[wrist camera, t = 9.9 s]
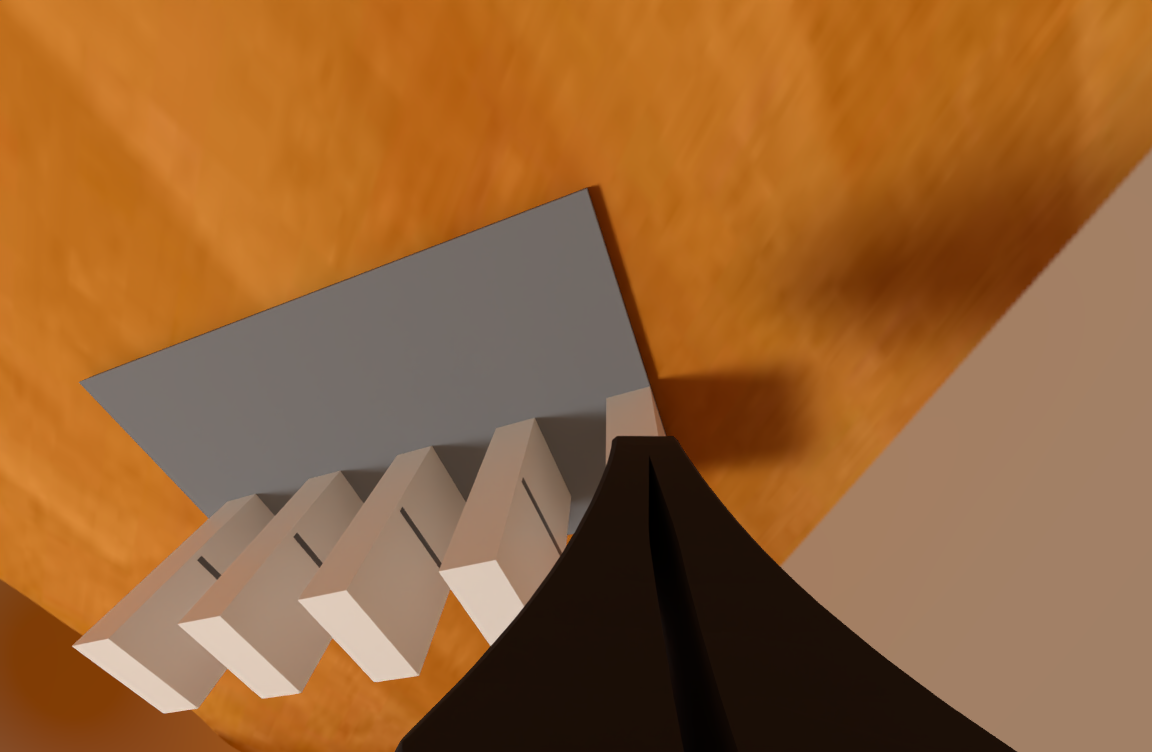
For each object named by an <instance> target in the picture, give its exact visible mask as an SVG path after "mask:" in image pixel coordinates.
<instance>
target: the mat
mask: <svg viewBox="0 0 1152 752" xmlns="http://www.w3.org/2000/svg"><path fill="white" fill-rule="evenodd" d="M79 383H80V384H81V385H82V386H83V387H84V388H85V389H86V390H87V391H88V392H89V393H90V394H91V395H92V396H93V398H94V399H95V400H96V401H97V402H98V403H99V404H100V405H101V406H102V407H103V408H104V409H105V410H106V411H107V412H108V413H109V414H110V415H111V416H112V417H113V418H114V420H115V421H116V422H117V423H118V424H119V425H120V426H121V427H122V428H123V429H124V430H125V431H126V432H127V433H128V434H129V435H130V436H131V437H132V438H133V439H134V441H135V442H136V443H137V444H138V445H139V446H140V447H141V448H142V449H143V450H144V451H145V452H146V453H147V454H148V455H149V456H150V457H151V458H152V459H153V460H154V462H155V463H156V464H157V465H158V466H159V467H160V468H161V469H162V470H163V471H164V472H165V473H166V474H167V475H168V476H169V477H170V478H171V479H172V480H173V481H174V482H175V484H176V485H177V486H178V487H179V488H180V489H181V490H182V491H183V492H184V493H185V494H186V495H187V496H188V497H189V498H190V499H191V500H192V501H193V502H194V503H195V505H196V506H197V507H198V508H199V509H200V510H201V511H202V512H203V513H204V514H205V515H206V516H207V517H208V518H210V517H211V516H212V515H213V514H214V513H216V512H217V511H218V510H219V509H220V508H221V507H222V506H223V505H224V504H225V503H226V502H228V501H231V500H235V499H239V498H242V497H246V496H250V495H253V494H256V495H257V496H258V497H259V498H260V499H261V500H262V502H263V503H264V504H265V505H266V506H267V507H268V509H269V510H270V511H271V512H272V513H273V514H274V516H275V515H276V514H277V513H278V512H279V511H280V510H281V509H282V508H283V507H284V506H285V504H286V503H287V502H288V501H289V500H290V499H291V498H292V497H293V496H294V494H295V493H296V492H297V491H298V490H299V489H300V488H301V487H302V486H303V485H304V483H305V482H306V481H307V480H308V479H310V478H314V477H318V476H322V475H326V474H330V473H333V472H337V471H341V473H342V474H343V475H344V477H345V478H346V479H347V481H348V482H349V484H350V485H351V486H352V488H353V489H354V491H355V492H356V493H357V495H358V496H359V498H360V499H361V500H362V502H363V503H365V501H366V500H367V498H368V497H369V495H370V494H371V492H372V491H373V490H374V488H375V487H376V485H377V484H378V482H379V481H380V479H381V478H382V476H383V475H384V474H385V472H386V471H387V469H388V468H389V466H390V465H391V463H392V462H393V460H394V459H395V458H396V456H397V455H400V454H404V453H407V452H411V451H415V450H418V449H422V448H426V447H429V446H432V447H433V449H434V450H435V452H436V454H437V455H438V457H439V459H440V460H441V462H442V463H443V465H444V467H445V468H446V470H447V472H448V473H449V475H450V477H451V478H452V480H453V482H454V483H455V485H456V487H457V488H458V490H459V492H460V493H461V495H462V497H463V498H464V500H465V502H467V499H468V497H469V494H470V492H471V489H472V487H473V484H474V482H475V479H476V477H477V474H478V472H479V469H480V467H481V464H482V462H483V459H484V457H485V454H486V452H487V449H488V447H489V444H490V442H491V439H492V437H493V434H494V432H495V429H496V428H499V427H503V426H506V425H510V424H514V423H517V422H521V421H525V420H528V419H532V418H535V419H536V422H537V424H538V426H539V428H540V430H541V432H542V435H543V437H544V439H545V441H546V443H547V445H548V447H549V450H550V452H551V454H552V456H553V458H554V460H555V463H556V465H557V467H558V469H559V471H560V473H561V475H562V478H563V480H564V482H565V484H566V486H567V488H568V491H569V493H570V495H571V504H570V513H569V522H568V532H567V535H569V534H574V533H575V531H576V529H577V527H578V525H579V523H580V522H581V520H582V518H583V516H584V514H585V512H586V510H587V508H588V507H589V505H590V503H591V501H592V498H593V496H594V494H595V492H596V489H597V487H598V485H599V482H600V480H601V478H602V475H603V473H604V470H605V467H606V398H609V397H613V396H616V395H620V394H624V393H627V392H631V391H635V390H638V389H642V388H646V387H649V386H650V382H649V379H648V376H647V373H646V370H645V367H644V364H643V360H642V357H641V354H640V351H639V348H638V345H637V342H636V338H635V335H634V332H633V329H632V326H631V323H630V320H629V317H628V313H627V310H626V307H625V304H624V301H623V298H622V295H621V291H620V288H619V285H618V282H617V279H616V276H615V273H614V269H613V266H612V263H611V260H610V257H609V254H608V251H607V247H606V244H605V241H604V238H603V235H602V232H601V229H600V226H599V222H598V219H597V216H596V213H595V210H594V207H593V204H592V200H591V197H590V194H589V191H588V188H585V189H582V190H579V191H577V192H574V193H572V194H569V195H566V196H564V197H561V198H558V199H556V200H553V201H551V202H548V203H545V204H543V205H540V206H537V207H535V208H532V209H530V210H527V211H524V212H522V213H519V214H517V215H514V216H511V217H509V218H506V219H503V220H501V221H498V222H496V223H493V224H490V225H488V226H485V227H482V228H480V229H477V230H475V231H472V232H469V233H467V234H464V235H461V236H459V237H456V238H454V239H451V240H448V241H446V242H443V243H440V244H438V245H435V246H433V247H430V248H427V249H425V250H422V251H420V252H417V253H414V254H412V255H409V256H406V257H404V258H401V259H399V260H396V261H393V262H391V263H388V264H385V265H383V266H380V267H378V268H375V269H372V270H370V271H367V272H364V273H362V274H359V275H357V276H354V277H351V278H349V279H346V280H343V281H341V282H338V283H336V284H333V285H330V286H328V287H325V288H322V289H320V290H317V291H315V292H312V293H309V294H307V295H304V296H302V297H299V298H296V299H294V300H291V301H288V302H286V303H283V304H281V305H278V306H275V307H273V308H270V309H267V310H265V311H262V312H260V313H257V314H254V315H252V316H249V317H246V318H244V319H241V320H239V321H236V322H233V323H231V324H228V325H225V326H223V327H220V328H218V329H215V330H212V331H210V332H207V333H204V334H202V335H199V336H197V337H194V338H191V339H189V340H186V341H184V342H181V343H178V344H176V345H173V346H170V347H168V348H165V349H163V350H160V351H157V352H155V353H152V354H149V355H147V356H144V357H142V358H139V359H136V360H134V361H131V362H128V363H126V364H123V365H121V366H118V367H115V368H113V369H110V370H107V371H105V372H102V373H100V374H97V375H94V376H92V377H89V378H87V379H85V380H83V381H80V382H79ZM650 389H651V386H650ZM651 392H652V389H651ZM652 395H653V392H652ZM653 398H654V395H653ZM654 401H655V398H654ZM655 404H656V401H655ZM656 407H657V404H656ZM657 410H658V408H657ZM658 414H659V411H658ZM659 417H660V414H659ZM660 420H661V417H660ZM661 423H662V420H661ZM662 426H663V423H662ZM663 429H664V426H663ZM664 432H665V430H664ZM665 435H666V433H665Z"/></svg>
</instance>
